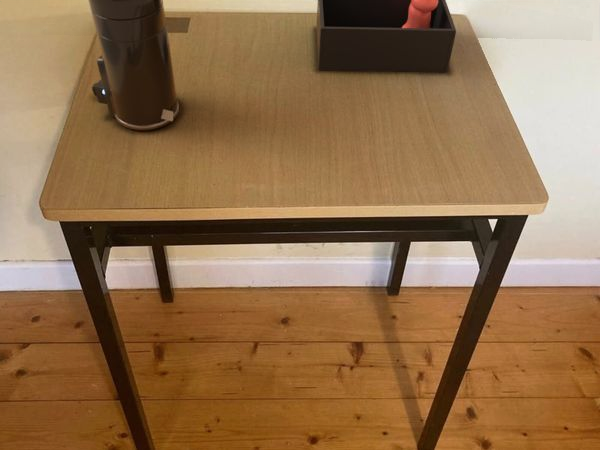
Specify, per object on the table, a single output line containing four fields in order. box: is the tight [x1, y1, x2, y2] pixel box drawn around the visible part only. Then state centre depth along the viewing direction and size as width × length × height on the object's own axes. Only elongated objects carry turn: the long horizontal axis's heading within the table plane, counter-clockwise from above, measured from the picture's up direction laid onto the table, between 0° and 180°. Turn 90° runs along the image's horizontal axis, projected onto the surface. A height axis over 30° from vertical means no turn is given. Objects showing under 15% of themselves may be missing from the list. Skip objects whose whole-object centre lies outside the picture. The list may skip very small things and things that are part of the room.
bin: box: [316, 0, 457, 73], centre depth 104 cm, size 21×13×8 cm, turn 91°
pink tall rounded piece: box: [402, 0, 438, 29], centre depth 101 cm, size 5×5×15 cm
